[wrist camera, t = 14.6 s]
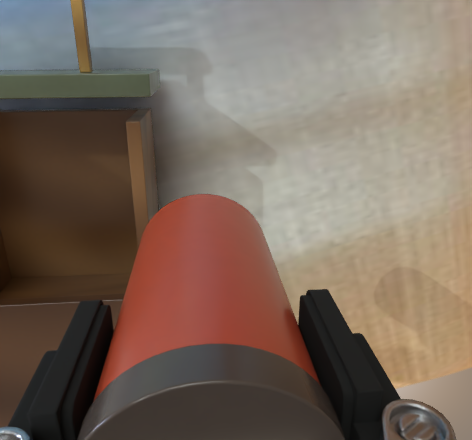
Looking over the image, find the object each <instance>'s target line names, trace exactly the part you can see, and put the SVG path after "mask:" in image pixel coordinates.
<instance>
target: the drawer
mask: <svg viewBox="0 0 472 440" xmlns="http://www.w3.org/2000/svg"><path fill="white" fill-rule="evenodd" d="M70 1H71V8H72V16H73V24H74V31H75V39H76V46H77V54H78V62H79V69H80V70H0V99H30V98H109V97H151V96H152V95H153V94H154V93H155V92H156V91H157V90H158V89H159V88H160V74H159V69H116V70H92V62H91V53H90V45H89V37H88V28H87V20H86V12H85V3H84V0H70ZM158 211H159V207H158V193H157V180H156V167H155V153H154V140H153V127H152V114H151V108H124V109H57V110H0V300H2V299H22V298H42V297H62V296H82V295H102V294H122V293H125V292H126V289H127V286H128V282H129V279H130V275H131V272H132V269H133V265H134V262H135V258H136V255H137V252H138V248H139V245H140V241H141V238H142V235H143V232H144V230H145V228H146V226H147V224H148V223H149V221H150V220H151V219H152V217H153V216H154V215H155V214H156V213H157V212H158Z"/></svg>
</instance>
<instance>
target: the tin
mask: <svg viewBox="0 0 472 440" xmlns="http://www.w3.org/2000/svg"><path fill="white" fill-rule="evenodd" d="M77 440H346V438H345V436H344V433H343V430H342V428H341V425H340V423H339V420H338V418H337V415H336V412H335V410H334V407H333V405H332V403H331V401H330V399H329V397H328V395H327V394H326V392H325V391H324V390H323V388H322V387H321V385H320V382H319V379H318V377H317V374H316V371H315V369H314V366H313V363H312V361H311V358H310V356H309V353H308V350H307V348H306V345H305V342H304V340H303V337H302V334H301V332H300V329H299V326H298V324H297V321H296V319H295V316H294V313H293V311H292V308H291V305H290V303H289V300H288V297H287V295H286V292H285V289H284V287H283V284H282V281H281V279H280V276H279V274H278V271H277V268H276V266H275V263H274V260H273V258H272V255H271V252H270V250H269V247H268V244H267V242H266V239H265V237H264V234H263V231H262V229H261V227H260V225H259V223H258V222H257V220H256V219H255V218H254V216H253V215H252V214H251V213H250V212H249V211H248V210H247V209H245V208H244V207H243V206H242V205H240V204H238V203H237V202H235V201H233V200H230V199H228V198H225V197H222V196H218V195H211V194H197V195H190V196H186V197H182V198H180V199H177V200H175V201H173V202H171V203H169V204H167V205H166V206H164V207H163V208H161V209H160V210H159V211H158V212H157V213H156V214H155V215H154V216H153V217H152V219H151V220H150V221H149V223H148V224H147V226H146V228H145V230H144V232H143V235H142V238H141V241H140V245H139V248H138V252H137V255H136V258H135V262H134V265H133V269H132V272H131V275H130V279H129V282H128V286H127V289H126V292H125V296H124V299H123V302H122V306H121V309H120V313H119V316H118V319H117V323H116V326H115V330H114V333H113V336H112V340H111V343H110V346H109V350H108V353H107V357H106V360H105V363H104V367H103V370H102V374H101V377H100V380H99V384H98V387H97V391H96V394H95V397H94V401H93V404H92V405H91V407H90V408H89V410H88V412H87V414H86V416H85V418H84V420H83V423H82V426H81V429H80V432H79V436H78V439H77Z"/></svg>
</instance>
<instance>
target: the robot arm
mask: <svg viewBox="0 0 472 440" xmlns="http://www.w3.org/2000/svg"><path fill="white" fill-rule="evenodd" d="M298 326H299V329H300V332H301V334H302V337H303V340H304V342H305V345H306V348H307V350H308V353H309V356H310V358H311V361H312V363H313V366H314V369H315V371H316V374H317V377H318V379H319V382H320V385H321V387H322V388H323V390H324V391H325V392H326V394H327V395H328V397H329V399H330V401H331V403H332V405H333V407H334V410H335V412H336V415H337V418H338V420H339V423H340V425H341V428H342V430H343V433H344V436H345V438H346V440H456V437H455V433H454V430H453V428H452V426H451V424H450V422H449V421H448V420H447V419H446V418H445V417H444V415H443V414H442V413H440V412H439V411H437V410H436V409H435V408H433V407H431V406H429V405H427V404H425V403H423V402H419V401H415V400H409V399H400V397H399V395H398V393H397V392H396V390H395V388H394V387H393V385H392V383H391V381H390V380H389V378H388V376H387V375H386V373H385V371H384V370H383V368H382V366H381V365H380V363H379V361H378V360H377V358H376V356H375V354H374V353H373V351H372V349H371V348H370V346H369V344H368V343H367V341H366V339H365V338H364V336H363V335H362V334H360V333H354V334H352V332H351V330H350V329H349V327H348V325H347V323H346V321H345V320H344V318H343V316H342V314H341V312H340V311H339V309H338V307H337V305H336V303H335V302H334V300H333V298H332V296H331V294H330V293H329V291H328V290H327V289H322V290H308V291H307V293H306V295H302V296H301V297H300V307H299V324H298ZM113 333H114V329H113V321H112V313H111V307H110V305H104V303H103V301H102V300H91V301H81V302H80V303H79V305H78V307H77V309H76V311H75V313H74V316H73V318H72V320H71V322H70V324H69V326H68V328H67V330H66V332H65V335H64V337H63V339H62V341H61V343H60V345H59V347H58V349H57V350H52V351H47V352H46V353H45V354H44V356H43V357H42V359H41V361H40V363H39V365H38V367H37V369H36V371H35V373H34V375H33V377H32V379H31V381H30V383H29V385H28V387H27V389H26V391H25V393H24V395H23V397H22V399H21V401H20V403H19V405H18V406H17V408H16V410H15V412H14V414H13V416H12V418H11V420H10V422H9V424H8V426H7V427H1V428H0V440H77V439H78V436H79V432H80V429H81V426H82V423H83V420H84V418H85V416H86V414H87V412H88V410H89V408H90V407H91V405H92V404H93V401H94V397H95V394H96V391H97V387H98V384H99V380H100V377H101V374H102V370H103V367H104V363H105V360H106V357H107V353H108V350H109V346H110V343H111V340H112V336H113Z"/></svg>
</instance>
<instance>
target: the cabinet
mask: <svg viewBox="0 0 472 440" xmlns="http://www.w3.org/2000/svg"><path fill="white" fill-rule="evenodd" d="M124 296H125V293H122V294H102V295H82V296H62V297H42V298H22V299H2V300H0V428H1V427H7V426H8V424H9V422H10V420H11V418H12V416H13V414H14V412H15V410H16V408H17V406H18V405H19V403H20V401H21V399H22V397H23V395H24V393H25V391H26V389H27V387H28V385H29V383H30V381H31V379H32V377H33V375H34V373H35V371H36V369H37V367H38V365H39V363H40V361H41V359H42V357H43V356H44V354H45V353H46V352H47V351H52V350H57V349H58V347H59V345H60V343H61V341H62V339H63V337H64V335H65V332H66V330H67V328H68V326H69V324H70V322H71V320H72V318H73V316H74V313H75V311H76V309H77V307H78V305H79V303H80V302H81V301H91V300H102V301H103V303H104V305H110V307H111V313H112V321H113V329H114V330H115V326H116V323H117V319H118V316H119V313H120V309H121V306H122V302H123V299H124Z"/></svg>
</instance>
